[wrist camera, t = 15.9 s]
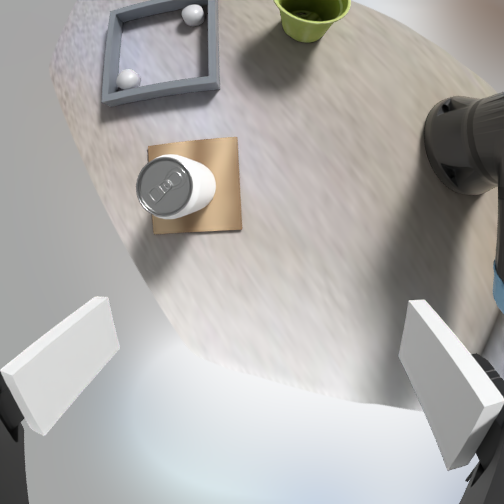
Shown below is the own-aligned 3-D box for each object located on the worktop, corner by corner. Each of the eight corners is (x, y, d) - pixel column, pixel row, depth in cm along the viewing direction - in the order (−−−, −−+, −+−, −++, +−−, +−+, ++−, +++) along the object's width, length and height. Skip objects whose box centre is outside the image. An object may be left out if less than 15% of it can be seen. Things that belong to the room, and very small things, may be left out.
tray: (217, -1, 33) (215, -12, 30) (220, 89, 37) (216, 82, 34) (118, 19, 34) (110, 11, 31) (111, 106, 37) (101, 102, 34)
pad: (237, 137, 38) (237, 136, 38) (242, 228, 40) (241, 229, 40) (149, 146, 38) (148, 146, 38) (154, 233, 41) (153, 234, 40)
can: (226, 191, 39) (211, 193, 27) (187, 221, 40) (157, 235, 28) (197, 151, 38) (170, 138, 26) (159, 182, 39) (119, 181, 27)
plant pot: (265, 4, 33) (265, -29, 25) (328, 2, 33) (339, -30, 24) (276, 54, 35) (279, 25, 27) (342, 51, 35) (359, 24, 26)
